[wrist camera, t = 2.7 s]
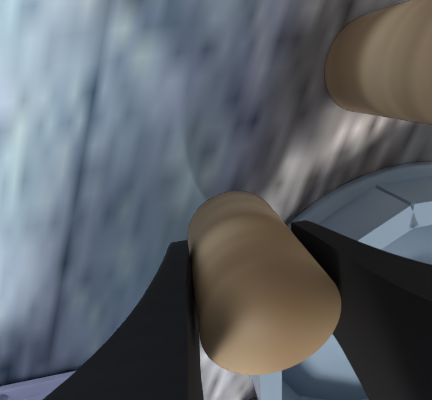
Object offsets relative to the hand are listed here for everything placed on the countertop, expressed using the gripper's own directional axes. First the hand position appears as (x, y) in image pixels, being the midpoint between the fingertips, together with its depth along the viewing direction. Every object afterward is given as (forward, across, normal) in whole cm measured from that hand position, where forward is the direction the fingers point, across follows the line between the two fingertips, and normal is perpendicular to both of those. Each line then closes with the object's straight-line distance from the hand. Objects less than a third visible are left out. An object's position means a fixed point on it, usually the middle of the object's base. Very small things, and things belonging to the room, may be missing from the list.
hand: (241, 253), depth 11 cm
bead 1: (+2, 0, 0) cm, 2 cm away
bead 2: (+4, -7, -6) cm, 10 cm away
